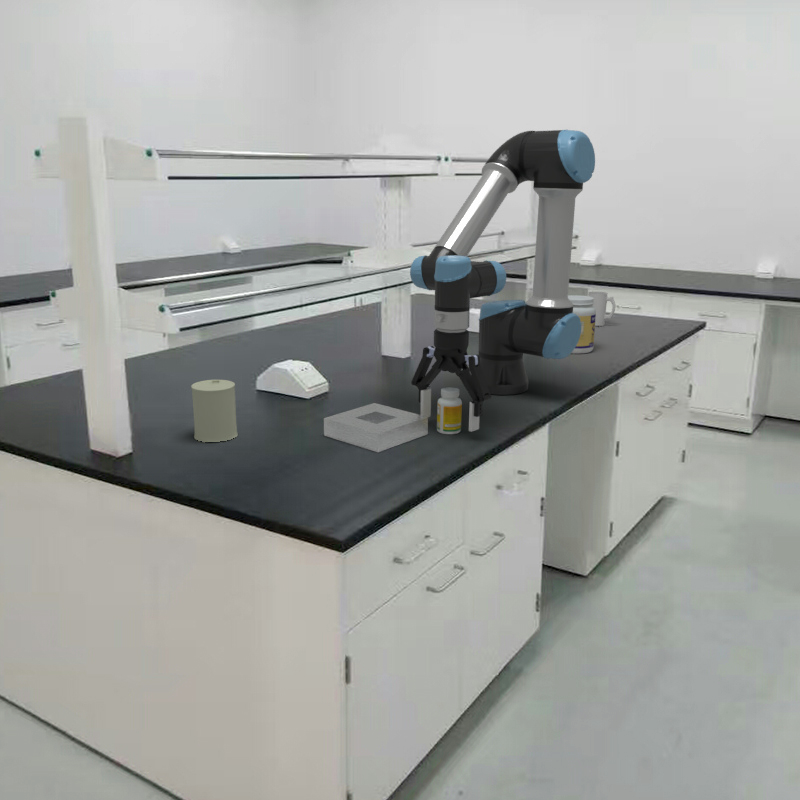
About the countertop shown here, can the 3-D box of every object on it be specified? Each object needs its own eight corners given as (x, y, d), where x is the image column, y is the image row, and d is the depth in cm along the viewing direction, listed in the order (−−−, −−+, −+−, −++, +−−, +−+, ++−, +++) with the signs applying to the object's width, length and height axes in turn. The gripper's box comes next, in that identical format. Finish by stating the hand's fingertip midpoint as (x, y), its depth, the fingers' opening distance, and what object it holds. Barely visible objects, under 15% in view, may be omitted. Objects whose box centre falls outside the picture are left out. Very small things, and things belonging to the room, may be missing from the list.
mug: (584, 326, 305) (586, 293, 301) (588, 322, 310) (591, 290, 307) (611, 328, 300) (614, 295, 297) (615, 325, 306) (618, 292, 303)
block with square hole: (374, 419, 193) (374, 402, 192) (427, 434, 183) (427, 416, 182) (324, 435, 181) (323, 418, 180) (377, 452, 171) (377, 433, 170)
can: (240, 429, 185) (238, 377, 182) (234, 443, 176) (231, 388, 173) (198, 429, 185) (195, 377, 182) (190, 443, 176) (186, 388, 173)
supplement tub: (596, 354, 259) (600, 300, 255) (557, 354, 260) (560, 300, 255) (589, 346, 271) (592, 294, 266) (551, 345, 271) (554, 294, 267)
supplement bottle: (431, 431, 185) (432, 389, 182) (447, 425, 189) (448, 384, 186) (450, 436, 181) (451, 394, 179) (466, 431, 185) (467, 389, 183)
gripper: (396, 323, 184) (395, 415, 190) (488, 340, 168) (485, 439, 174) (418, 319, 189) (417, 408, 195) (509, 334, 173) (505, 431, 179)
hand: (449, 423), depth 185 cm, fingers open, 13 cm apart
